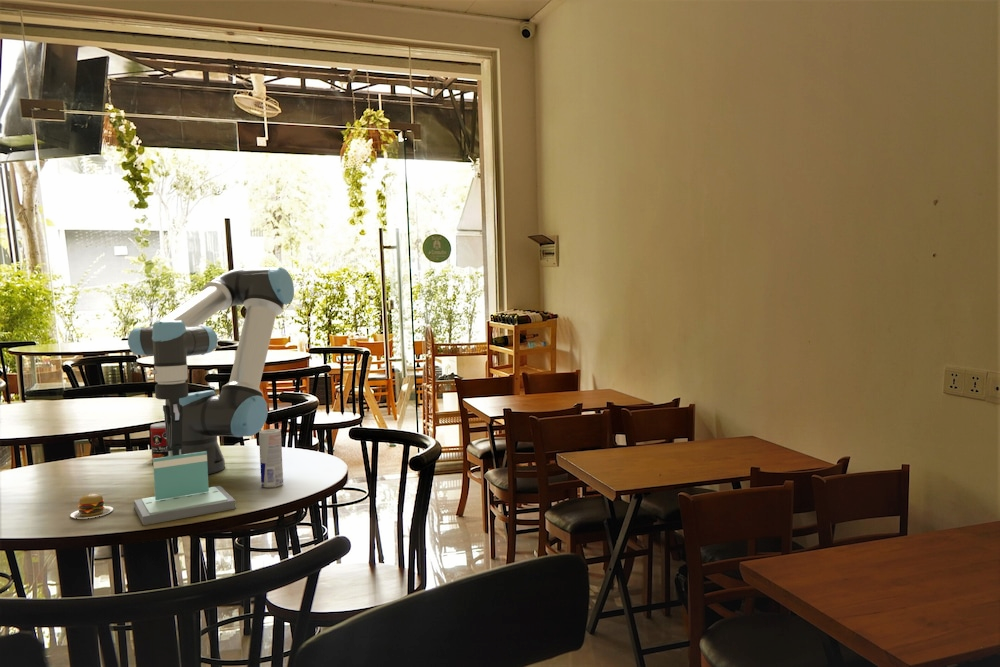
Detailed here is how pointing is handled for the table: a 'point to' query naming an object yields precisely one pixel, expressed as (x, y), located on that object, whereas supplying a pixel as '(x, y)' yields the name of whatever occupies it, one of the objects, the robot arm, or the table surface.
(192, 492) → the stub
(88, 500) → the hamburger
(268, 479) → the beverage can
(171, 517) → the board
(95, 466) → the table surface
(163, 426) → the canned food
